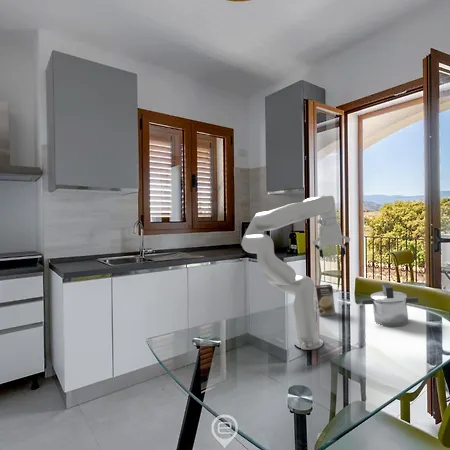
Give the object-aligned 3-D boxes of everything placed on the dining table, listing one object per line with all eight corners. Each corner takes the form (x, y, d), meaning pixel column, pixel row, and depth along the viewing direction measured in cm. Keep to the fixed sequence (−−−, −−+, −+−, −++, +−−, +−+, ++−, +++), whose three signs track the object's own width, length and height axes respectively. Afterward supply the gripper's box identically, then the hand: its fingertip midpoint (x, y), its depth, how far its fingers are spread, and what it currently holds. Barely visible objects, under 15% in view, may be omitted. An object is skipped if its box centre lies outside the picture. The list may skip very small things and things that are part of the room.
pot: (415, 315, 165) (412, 292, 164) (424, 326, 150) (421, 300, 150) (362, 317, 172) (360, 294, 172) (366, 327, 158) (363, 303, 157)
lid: (410, 301, 151) (409, 288, 151) (373, 303, 155) (372, 290, 155) (402, 292, 166) (401, 280, 166) (368, 294, 171) (367, 282, 171)
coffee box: (319, 316, 182) (315, 288, 182) (317, 312, 188) (313, 285, 188) (335, 314, 181) (332, 286, 181) (333, 311, 187) (329, 283, 187)
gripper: (309, 224, 154) (314, 259, 155) (348, 220, 149) (352, 256, 150) (310, 223, 162) (314, 257, 162) (347, 219, 157) (351, 254, 157)
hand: (332, 257), depth 156 cm, fingers open, 9 cm apart
